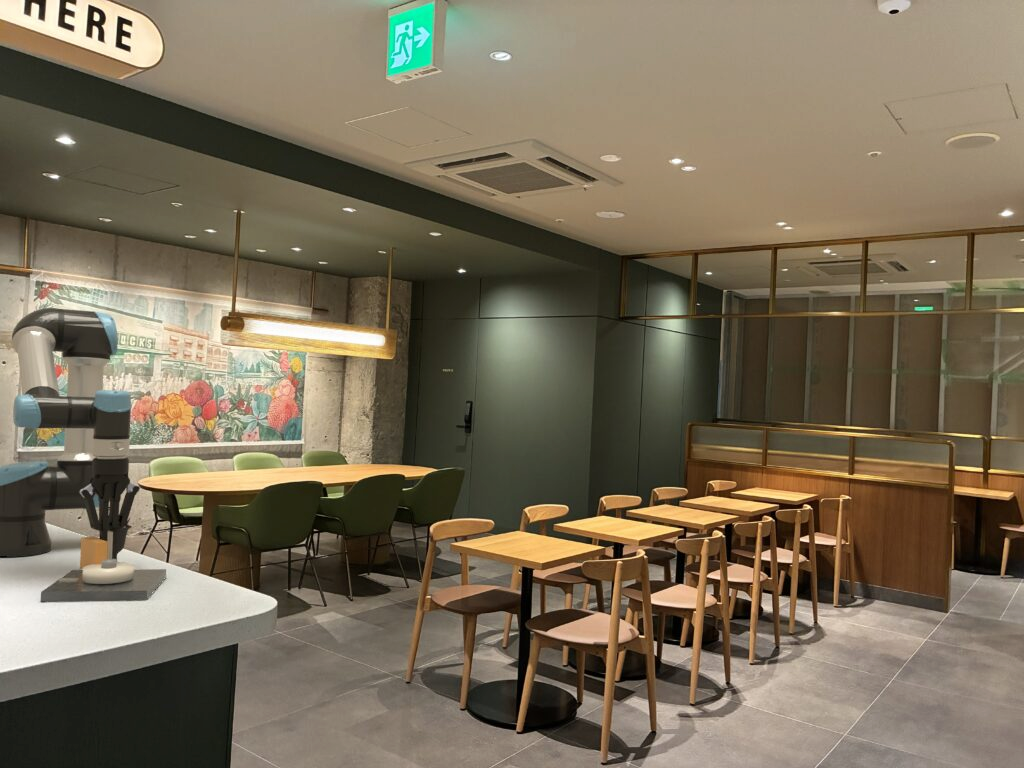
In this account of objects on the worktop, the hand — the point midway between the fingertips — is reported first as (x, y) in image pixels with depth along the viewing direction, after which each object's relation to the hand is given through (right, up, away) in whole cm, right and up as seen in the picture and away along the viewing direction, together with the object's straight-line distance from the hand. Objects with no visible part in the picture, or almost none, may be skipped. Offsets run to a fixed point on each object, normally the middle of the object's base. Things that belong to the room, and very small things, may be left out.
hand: (107, 559), depth 178 cm
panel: (+5, -5, -9) cm, 11 cm away
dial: (+2, -2, -6) cm, 7 cm away
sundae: (-4, -5, +11) cm, 13 cm away
